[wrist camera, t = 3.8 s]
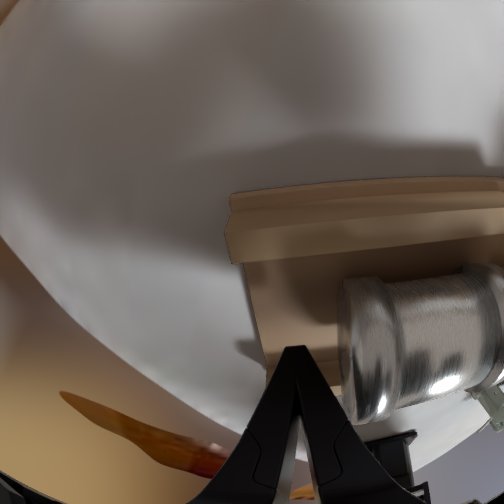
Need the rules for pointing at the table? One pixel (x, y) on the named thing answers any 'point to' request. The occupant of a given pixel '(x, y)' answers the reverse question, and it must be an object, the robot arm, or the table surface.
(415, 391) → the cylinder
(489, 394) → the metal bracket
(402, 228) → the wooden channel tray
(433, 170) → the table surface
